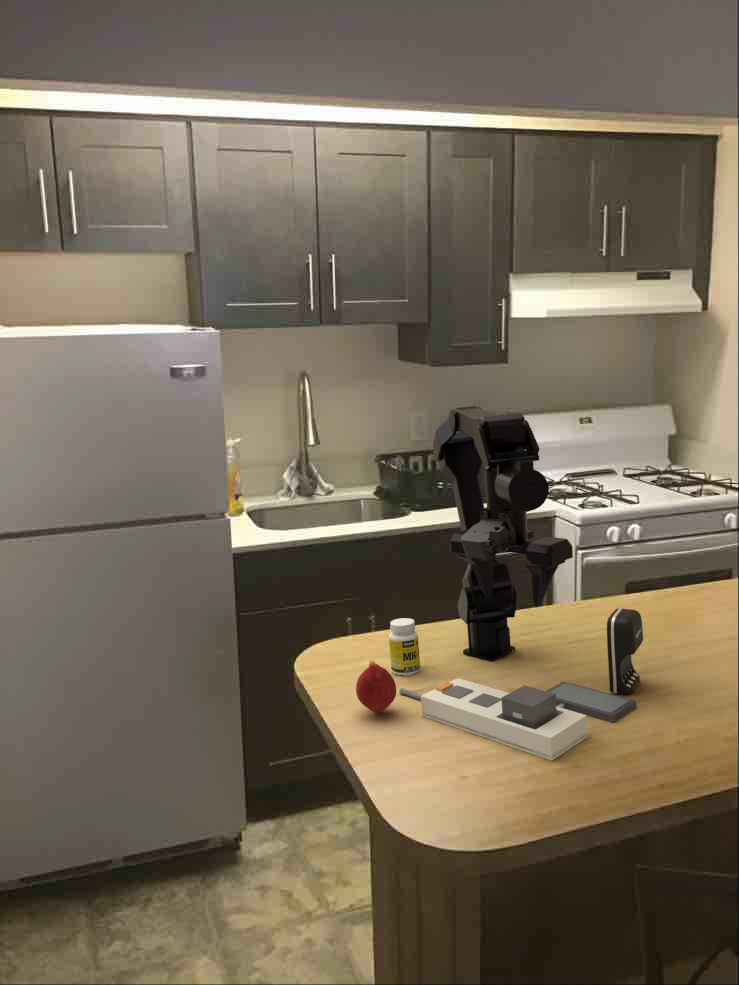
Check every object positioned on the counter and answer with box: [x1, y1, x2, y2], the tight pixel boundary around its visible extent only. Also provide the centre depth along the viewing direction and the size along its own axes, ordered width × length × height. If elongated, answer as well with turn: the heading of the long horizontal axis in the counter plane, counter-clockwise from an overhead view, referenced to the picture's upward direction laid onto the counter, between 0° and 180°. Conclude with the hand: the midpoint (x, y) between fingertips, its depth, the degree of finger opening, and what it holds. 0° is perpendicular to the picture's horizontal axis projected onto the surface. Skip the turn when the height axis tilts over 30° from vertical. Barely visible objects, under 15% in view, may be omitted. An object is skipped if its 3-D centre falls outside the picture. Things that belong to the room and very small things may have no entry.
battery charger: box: [606, 607, 644, 695], centre depth 122 cm, size 7×4×11 cm, turn 150°
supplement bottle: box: [388, 617, 421, 677], centre depth 137 cm, size 5×5×8 cm
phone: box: [546, 681, 637, 724], centre depth 116 cm, size 12×12×1 cm
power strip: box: [399, 677, 588, 761], centre depth 117 cm, size 30×8×3 cm, turn 43°
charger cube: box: [501, 684, 557, 730], centre depth 110 cm, size 5×5×5 cm
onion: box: [355, 659, 397, 715], centre depth 121 cm, size 6×6×8 cm
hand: (512, 601), depth 126 cm, fingers open, 9 cm apart
